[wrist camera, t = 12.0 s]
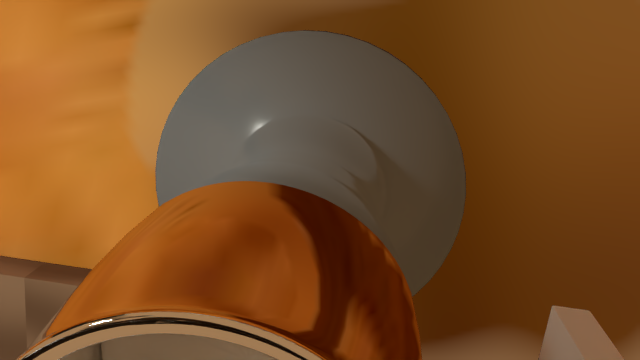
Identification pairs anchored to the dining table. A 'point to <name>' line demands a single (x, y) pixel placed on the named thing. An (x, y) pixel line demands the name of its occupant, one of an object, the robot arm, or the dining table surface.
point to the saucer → (336, 103)
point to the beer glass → (253, 264)
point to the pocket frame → (31, 300)
